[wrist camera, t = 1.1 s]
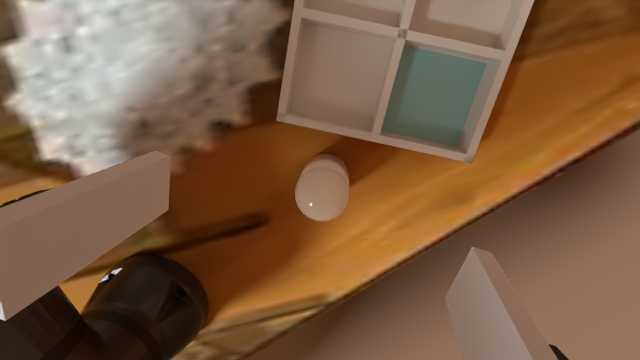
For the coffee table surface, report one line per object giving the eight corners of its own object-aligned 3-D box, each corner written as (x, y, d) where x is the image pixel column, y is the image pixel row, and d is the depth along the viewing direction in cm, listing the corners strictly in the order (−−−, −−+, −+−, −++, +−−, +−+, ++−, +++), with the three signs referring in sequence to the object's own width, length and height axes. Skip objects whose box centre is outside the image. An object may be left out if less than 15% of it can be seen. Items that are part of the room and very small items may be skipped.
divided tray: (458, 155, 34) (471, 163, 30) (282, 116, 34) (276, 120, 30) (537, -59, 27) (564, -78, 24) (318, -105, 27) (315, -131, 24)
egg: (342, 201, 37) (342, 236, 28) (299, 191, 37) (286, 224, 28) (353, 158, 35) (356, 183, 26) (307, 148, 35) (296, 169, 27)
